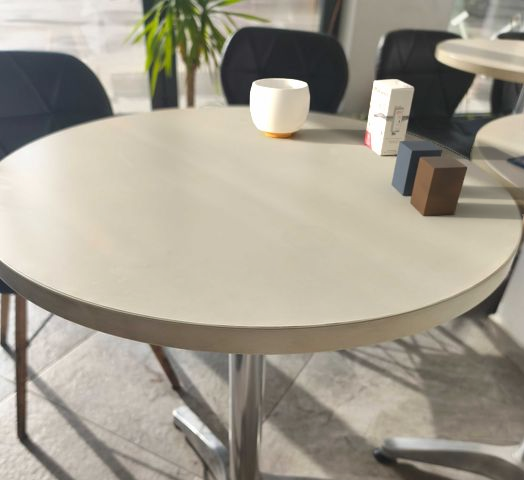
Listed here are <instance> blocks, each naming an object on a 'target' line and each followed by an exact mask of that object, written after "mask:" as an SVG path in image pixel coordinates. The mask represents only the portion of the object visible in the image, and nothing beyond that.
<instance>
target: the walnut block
mask: <svg viewBox="0 0 524 480" xmlns="http://www.w3.org/2000/svg"><path fill="white" fill-rule="evenodd" d="M467 171H468V166H466V165H465V164H464V163H462V162H461V161H459V160H458V159H456V158H455V157H453V156H451V155H446V156H445V155H444V156H442V155H441V156H438V157H420V159H419V164H418V169H417V173H416V178H415V182H414V187H413V192H412V195H410V196H411V197H410V201H409V203H410V205H411V206H412V207H413V208H414V209H415V210H416V211H417V212H419V213H420V214H421V215H422V216H423V217H425V216H426V217H427V216H428V217H429V216H450V215H451V216H452V215H455V214H456V210H457V207H458V203H459V200H460V196H461V192H462V188H463V186H464V182H465V179H466V174H467Z"/></svg>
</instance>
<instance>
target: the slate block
mask: <svg viewBox="0 0 524 480" xmlns="http://www.w3.org/2000/svg"><path fill="white" fill-rule="evenodd" d="M442 155H443V149H442V148H440V147H439V146H437V145H436V144H434V143H433V142H432V141H431V140H404V141H400V143H399V148H398V153H397V155H396V159H395V164H394V169H393V174H392V175H393V176H392V180H391V186H392V187H393V188H395V190H396V191H398V193H399V194H400V195H401V196H403V197H404V196H412V192H413V187H414V182H415V178H416V173H417V169H418V164H419V159H420V157H438V156H442Z"/></svg>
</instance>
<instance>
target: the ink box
mask: <svg viewBox="0 0 524 480" xmlns="http://www.w3.org/2000/svg"><path fill="white" fill-rule="evenodd" d="M371 91H372V92H371V97H370V98H371V99H370V103H369V111H368V117H367V122H366V123H367V124H366V130H365V135H364V142H363V143H364V145H366V146H367V147H368V148H370V149H371V150H372V151H374V152H375V153H376V154H377V155H378V156H394V155H395V156H397V153H398V148H399V143H400V141H406V134H407V130H408V124H409V119H410V113H411V109H412V108H411V107H412V102H413V98H414V94H415V87H414V86H413V85H411V84H409V83H406V82H405V81H402V80H400V79H396V78H391V79H390V78H389V79H378V80H374V81H373V86H372V90H371Z"/></svg>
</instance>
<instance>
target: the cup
mask: <svg viewBox="0 0 524 480" xmlns="http://www.w3.org/2000/svg"><path fill="white" fill-rule="evenodd" d="M249 93H250V94H249V108H250V114H251V118H252V121H253V124H254V125H255V126H256V128H257V129H258V130H260V131H262V132H263V133H264V134H265V136H267V137H269V138H276V139H283V138H289V137H291V136H292V135H293V133H295V132H298V131H299V130H300V129H301V128H302V127H303V126H304V125H305V123H306V121H307V118H308V115H309V112H310V106H311V105H310V103H311V94H310V87H309V85H308V83H307V82H305V81H302V80H299V79H293V78H279V77H278V78H276V77H275V78H274V77H273V78H272V77H271V78H262V79H257V80H254V81H253V82H252V85H251V88H250V92H249Z"/></svg>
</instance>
